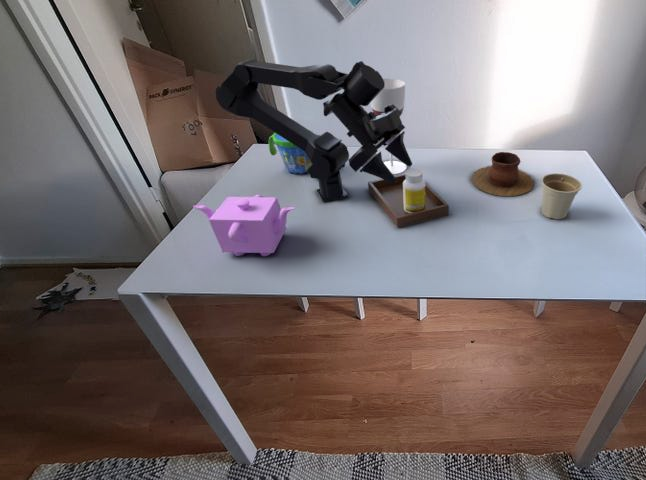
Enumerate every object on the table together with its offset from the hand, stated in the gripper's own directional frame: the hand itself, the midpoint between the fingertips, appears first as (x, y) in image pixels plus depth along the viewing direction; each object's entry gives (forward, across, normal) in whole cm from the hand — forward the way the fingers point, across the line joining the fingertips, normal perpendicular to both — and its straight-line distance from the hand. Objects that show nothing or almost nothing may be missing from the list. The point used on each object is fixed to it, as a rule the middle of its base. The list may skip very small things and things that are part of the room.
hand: (403, 173), depth 91 cm
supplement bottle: (+8, 0, +5) cm, 10 cm away
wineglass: (-2, +20, +16) cm, 26 cm away
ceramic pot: (+21, +24, -7) cm, 32 cm away
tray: (+6, +3, +7) cm, 10 cm away
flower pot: (+32, +12, -18) cm, 39 cm away
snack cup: (-19, +9, +33) cm, 39 cm away
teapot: (-10, -25, +24) cm, 36 cm away
